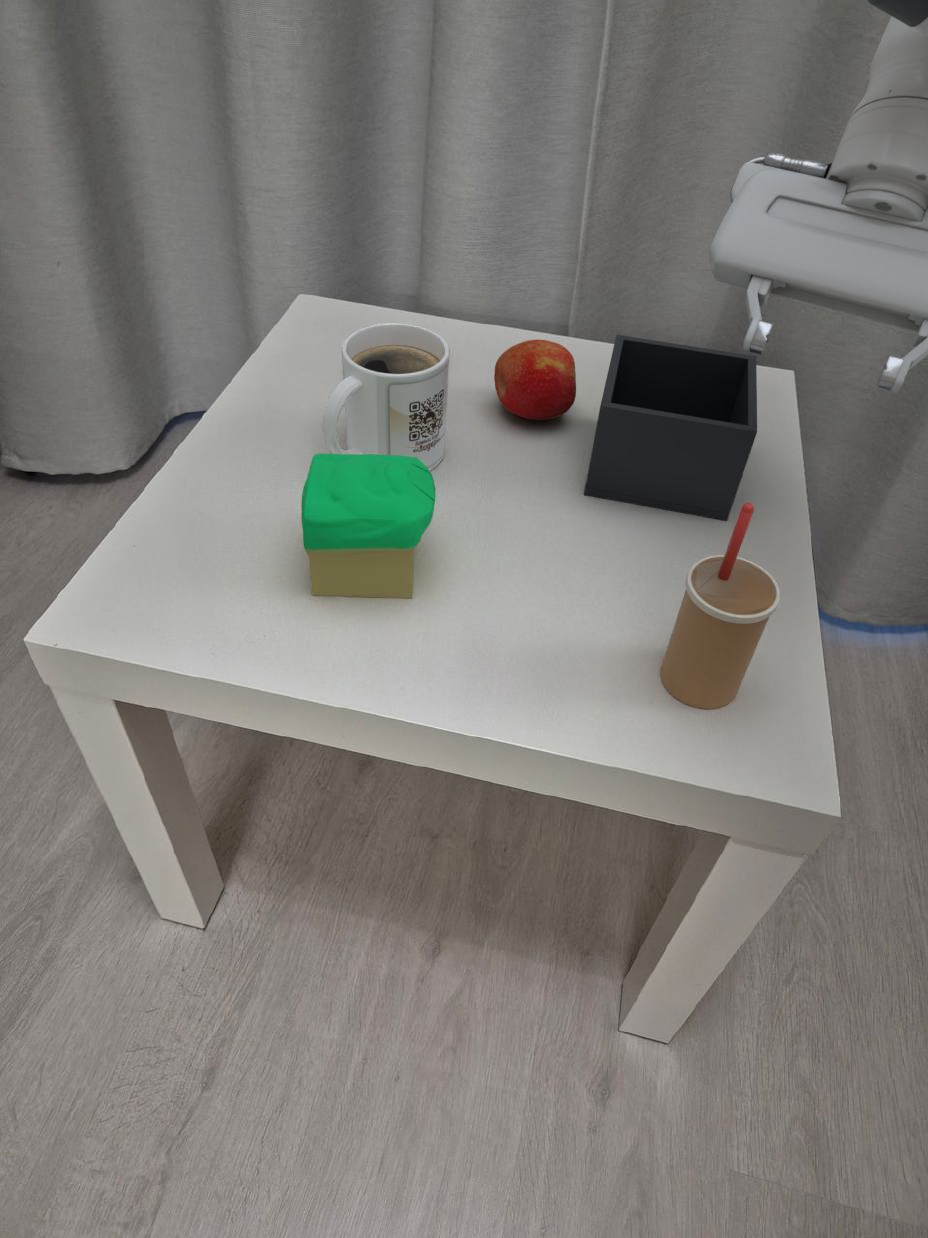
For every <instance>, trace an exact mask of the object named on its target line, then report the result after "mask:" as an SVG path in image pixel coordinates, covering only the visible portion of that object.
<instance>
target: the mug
mask: <svg viewBox="0 0 928 1238" xmlns="http://www.w3.org/2000/svg"><path fill="white" fill-rule="evenodd" d="M449 347H450V346H449V344H448V343H447V341H446V340H445V339H444V338H443V337H442V336H441V335H439V334H438V333H437V332H435V331H433V330H431V329H428V328H426V327H424V326H420V325H416V324H411V323H405V322H404V323H402V322H384V323H377V324H376V323H375V324H371V325H368V326H364V327H361V328H359V329H357V330H355V331H353V332H351V333H350V334H349V335H348V336H347V337H346V338H345V340H344V341H343V343H342V346H341V366H342V367H341V368H342V380H341V381H340V382H339V383H338V384H337V385H336V386H335V387H334V389H333V390H332V392H331V394H330V395H329V397H328V400H327V402H326V405H325V408H324V412H323V416H322V417H323V418H322V434H323V439H324V440H323V441H324V443H325V445H326V447H327V449H328V451H329V452H330V453H331V454H361V455H362V454H378V455H401V456H409V457H417V459H419V460H420V461H421V462H422V463H423V464H424V465H425V466H426V467H427V468H428V470H429V471H430V472H431V471H432V470H434V469H435V468H436V467H437V466H438V465H440V463H441V461H443V459H444V456H445V454H446V444H447V421H448V419H447V418H448V399H449V398H448V397H449V395H448V394H449V373H450V348H449ZM343 407H344V419H345V420H344V421H345V442H346V449H343V448H342V447H341V444H340V443H339V438H338V424H339V423H338V422H339V419H340V415H341V412H342V410H343Z"/></svg>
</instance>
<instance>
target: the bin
mask: <svg viewBox="0 0 928 1238" xmlns="http://www.w3.org/2000/svg"><path fill="white" fill-rule="evenodd" d="M757 380H758V379H757V356H756V355H751V354H744V353H737V352H731V351H724V350H719V349H713V348H712V349H711V348H705V347H699V346H692V345H687V344H681V343H680V344H679V343H673V342H667V341H660V340H655V339H649V338H642V337H635V336H629V335H623V334H616V335H615V339H614V343H613V348H612V352H611V357H610V362H609V365H608V369H607V374H606V379H605V384H604V388H603V392H602V398H601V402H600V405H599V411H598V416H597V422H596V427H595V433H594V438H593V443H592V448H591V454H590V460H589V465H588V470H587V475H586V476H587V477H586V482H585V486H584V492H583V495H584V496H589V497H594V498H599V499H605V500H610V501H615V502H616V501H617V502H622V503H628V504H633V505H638V506H644V507H650V508H655V509H660V510H665V511H670V512H671V511H672V512H678V513H683V514H689V515H693V516H699V517H700V516H701V517H705V518H711V519H716V520H722V521H728V520H729V517H730V513H731V511H732V508H733V504H734V502H735V499H736V496H737V494H738V490H739V487H740V484H741V481H742V479H743V475H744V472H745V469H746V466H747V464H748V460H749V458H750V456H751V455H750V454H751V452H752V449H753V447H754V446H753V445H754V442H755V440H756V436H757V433H758V391H757V390H758V384H757Z"/></svg>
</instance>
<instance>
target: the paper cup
mask: <svg viewBox="0 0 928 1238" xmlns="http://www.w3.org/2000/svg"><path fill="white" fill-rule="evenodd" d="M754 512H755V506H754V505H753V503H751V502H745V503H743V504H742V505H741V507H740V511H739V513H738V517H737V520H736V521H735V525H734V528H733V530H732V534H731V536H730V539H729V541H728V545H727V547H726V551H725V553H724V554H715V555H709V556H705V557H703V558H700V559H698V560H697V561H695V562H694V563H693V564H692V565H691V566H690V567H689V569H688V572H687V574H686V578H685V591H684V593H683V596H682V600H681V603H680V606H679V610H678V612H677V615H676V619H675V622H674V625H673V629H672V631H671V635H670V638H669V641H668V644H667V647H666V650H665V652H664V656H663V660H662V663H661V666H660V670H659V673H660V679H661V683H662V684H663V687H664V688H665V689H666V691H667V692H668V693H669V694H670V695H671V696H672V697H673V698H674V699H676V700H677V701H679V702H680V703H682V704H685V705H687V706H690V707H692V708H696V709H701V710H714V709H720V708H722V707H725V706H727V705H729V704H730V703H731V702H732V701H733V700H734V699H735V698H736V696H737V693H738V692H739V689H740V687H741V684H742V683H743V680H744V677H745V675H746V673H747V671H748V668H749V666H750V664H751V661H752V659H753V656H754V654H755V652H756V649H757V647H758V644H759V643H760V640H761V638H762V635H763V633H764V631H765V628H766V626H767V623H768V621H769V619H770V617H771V616H772V615H773V614H774V613H775V612H776V610H777V608H778V606H779V603H780V601H781V590H780V587H779V584H778V583H777V581H776V579H775V578H774V577H773V576H772V575H771V574H770V572H769V571H767V570H766V569H765V568H763V567H762V566H760V565H759V564H757V563H755V562H753V561H751V560H748V559H747V558H744V557H740V556H739V553H740V550H741V547H742V544H743V542H744V540H745V539H744V538H745V535H746V533H747V530H748V527H749V525H750V523H751V519H752V517H753V514H754Z"/></svg>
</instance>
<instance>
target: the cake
mask: <svg viewBox="0 0 928 1238" xmlns="http://www.w3.org/2000/svg"><path fill="white" fill-rule="evenodd" d="M301 493H302V495H301V527H302V542H303V543H302V544H303V548H304V550H305V552H306V554H307V557H308V565H309V575H310V585H311V595H312V596H313V597H315V596H316V597H350V598H351V597H352V598H353V597H355V598H356V597H357V598H358V597H359V598H385V599H386V598H391V599H392V598H393V599H413V586H414V585H413V583H414V557H415V556H414V555H415V548H416V547H417V545H418V544H419V543H420V541H421V540H422V537H423V535H424V533H425V532H426V530H427V529H428V527H429V526H430V525H431V523H432V521H433V517H434V511H435V503H436V486H435V480H434V477H433V474H432V473H431V470H430V471H429V470H428V468H427V467H426V466H425V465H424V464H423V463H422V462H421V461H420V460H419V459H417V457H409V456H401V455H378V454H362V455H361V454H333V453H322V452H321V453H320V452H319V453H314V455H313V456H312V459H311V461H310V466H309V470H308V472H307V477H306V480H305V482H304V485H303V488H302V492H301Z"/></svg>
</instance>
